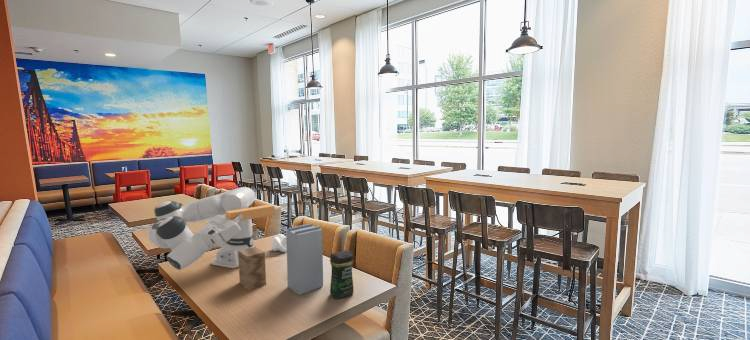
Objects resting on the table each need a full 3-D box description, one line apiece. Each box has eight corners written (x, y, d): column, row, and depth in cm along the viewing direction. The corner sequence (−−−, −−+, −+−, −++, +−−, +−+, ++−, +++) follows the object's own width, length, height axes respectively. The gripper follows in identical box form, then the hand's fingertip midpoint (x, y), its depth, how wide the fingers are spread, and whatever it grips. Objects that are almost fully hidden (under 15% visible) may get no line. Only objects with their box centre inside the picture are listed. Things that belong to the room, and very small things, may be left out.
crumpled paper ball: (265, 252, 198) (265, 236, 197) (280, 245, 209) (279, 231, 208) (280, 255, 193) (280, 239, 192) (295, 248, 204) (294, 234, 203)
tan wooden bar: (229, 222, 141) (229, 213, 141) (225, 220, 144) (225, 211, 144) (274, 214, 155) (274, 205, 154) (270, 213, 158) (270, 204, 157)
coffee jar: (337, 301, 141) (336, 257, 139) (327, 293, 147) (326, 251, 145) (356, 294, 147) (356, 251, 145) (346, 287, 153) (346, 246, 151)
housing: (299, 294, 146) (297, 232, 143) (287, 286, 154) (286, 227, 151) (323, 286, 155) (322, 227, 152) (311, 279, 162) (309, 222, 159)
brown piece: (248, 289, 151) (247, 256, 149) (239, 282, 158) (238, 250, 157) (266, 284, 156) (264, 252, 155) (256, 277, 164) (255, 246, 162)
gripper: (205, 235, 147) (233, 215, 154) (223, 247, 132) (253, 224, 140) (196, 224, 144) (225, 204, 152) (214, 235, 130) (245, 212, 137)
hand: (239, 214), depth 146 cm, fingers closed on tan wooden bar, 4 cm apart
